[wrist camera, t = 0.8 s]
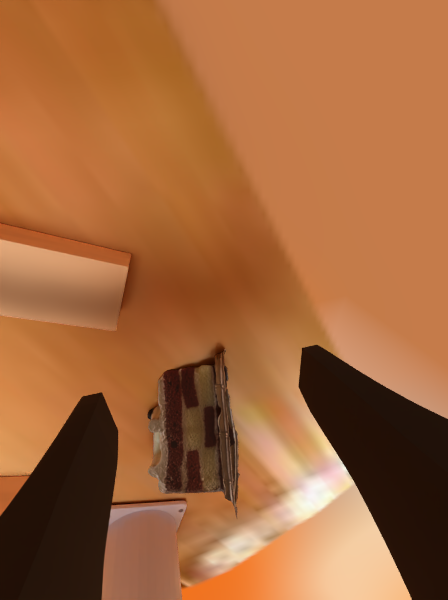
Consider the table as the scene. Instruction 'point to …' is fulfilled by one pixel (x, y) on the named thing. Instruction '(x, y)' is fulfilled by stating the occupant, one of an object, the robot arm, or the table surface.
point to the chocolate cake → (195, 432)
